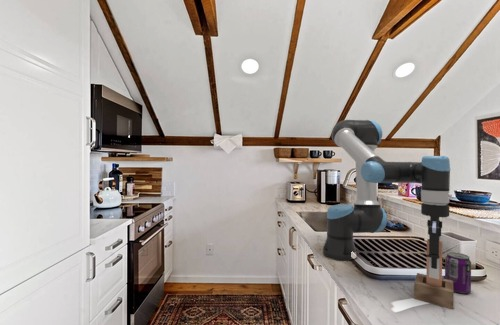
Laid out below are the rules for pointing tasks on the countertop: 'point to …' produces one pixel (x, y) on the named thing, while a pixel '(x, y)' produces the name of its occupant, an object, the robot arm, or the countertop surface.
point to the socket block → (434, 291)
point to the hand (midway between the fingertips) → (434, 275)
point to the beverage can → (458, 271)
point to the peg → (439, 281)
